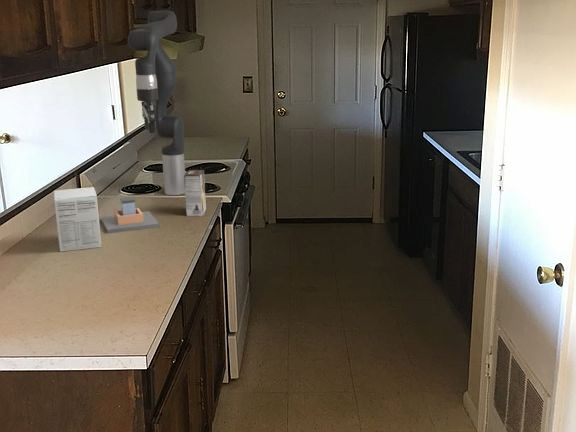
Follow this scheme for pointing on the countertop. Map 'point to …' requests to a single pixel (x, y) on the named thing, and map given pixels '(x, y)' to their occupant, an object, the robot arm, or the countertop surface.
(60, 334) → the countertop surface
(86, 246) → the supplement box
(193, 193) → the coffee box
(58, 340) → the countertop surface
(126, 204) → the plug
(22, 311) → the countertop surface
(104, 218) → the socket dock
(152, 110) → the robot arm
